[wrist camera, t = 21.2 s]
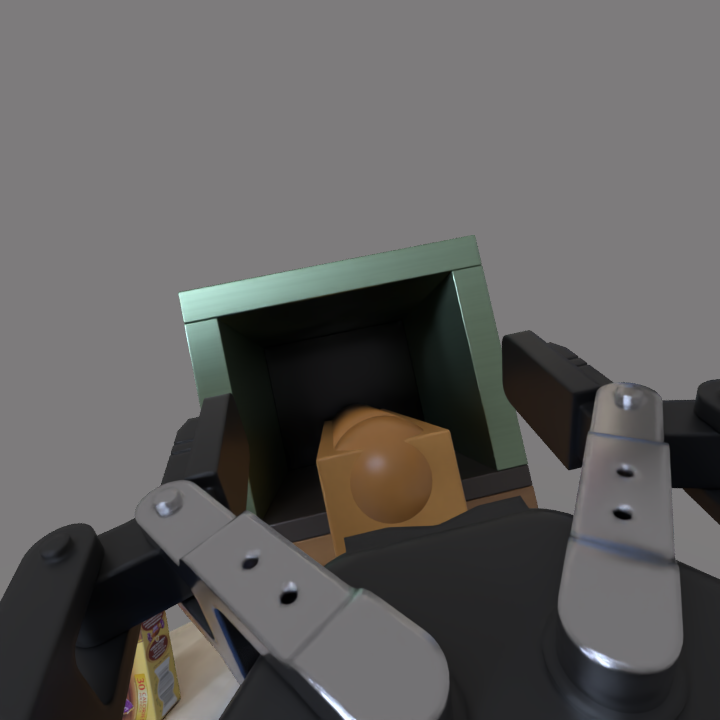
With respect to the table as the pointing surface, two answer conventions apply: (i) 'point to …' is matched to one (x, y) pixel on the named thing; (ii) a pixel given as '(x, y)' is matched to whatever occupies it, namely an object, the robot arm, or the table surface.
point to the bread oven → (356, 367)
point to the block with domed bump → (386, 473)
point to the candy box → (152, 673)
